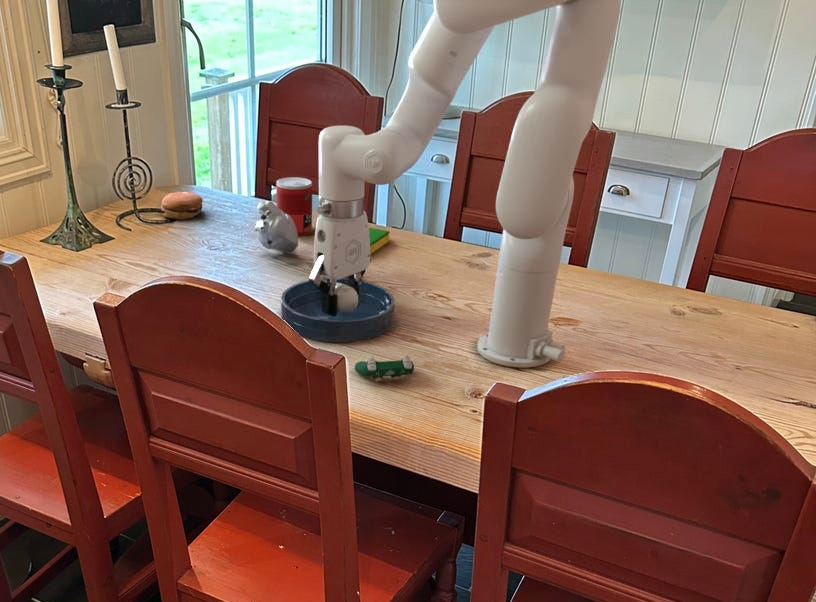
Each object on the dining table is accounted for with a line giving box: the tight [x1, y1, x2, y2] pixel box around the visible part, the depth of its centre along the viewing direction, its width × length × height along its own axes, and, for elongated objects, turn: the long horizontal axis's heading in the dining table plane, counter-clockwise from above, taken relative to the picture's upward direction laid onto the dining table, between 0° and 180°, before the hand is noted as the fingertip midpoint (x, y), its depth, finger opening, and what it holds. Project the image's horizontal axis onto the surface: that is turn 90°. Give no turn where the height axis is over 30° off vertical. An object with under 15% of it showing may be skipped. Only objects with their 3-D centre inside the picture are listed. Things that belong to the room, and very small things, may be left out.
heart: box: [254, 200, 299, 254], centre depth 176 cm, size 10×10×12 cm
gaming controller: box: [354, 355, 415, 382], centre depth 133 cm, size 9×4×6 cm
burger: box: [160, 190, 204, 221], centre depth 200 cm, size 10×9×5 cm
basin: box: [280, 278, 396, 343], centre depth 151 cm, size 20×20×4 cm
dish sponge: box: [369, 227, 390, 255], centre depth 184 cm, size 7×14×2 cm, turn 153°
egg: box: [334, 282, 359, 314], centre depth 150 cm, size 7×5×5 cm
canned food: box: [275, 176, 313, 237], centre depth 190 cm, size 8×8×11 cm
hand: (340, 308), depth 151 cm, fingers closed on egg, 5 cm apart
